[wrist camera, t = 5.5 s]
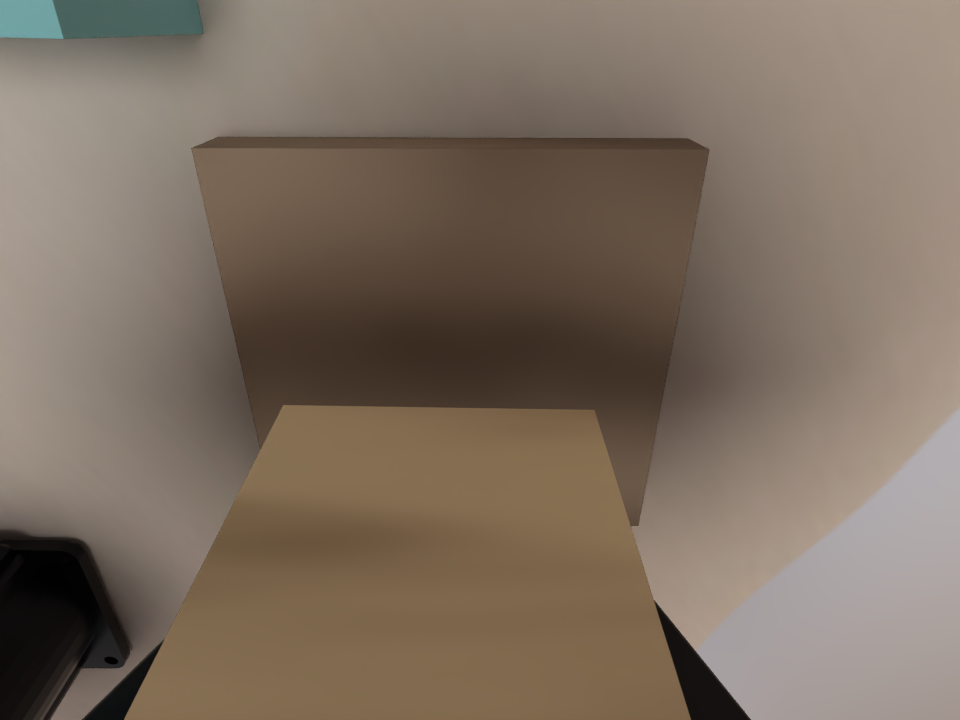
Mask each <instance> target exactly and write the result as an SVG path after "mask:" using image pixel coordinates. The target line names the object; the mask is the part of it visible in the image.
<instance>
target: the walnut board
mask: <svg viewBox="0 0 960 720" xmlns="http://www.w3.org/2000/svg"><path fill="white" fill-rule="evenodd" d="M191 149H192V153H193V157H194V162H195V166H196V170H197V175H198V179H199V184H200V188H201V192H202V197H203V201H204V205H205V210H206V214H207V218H208V223H209V227H210V232H211V236H212V240H213V245H214V249H215V253H216V258H217V262H218V266H219V271H220V275H221V280H222V284H223V288H224V293H225V297H226V301H227V306H228V310H229V314H230V319H231V323H232V328H233V332H234V336H235V341H236V345H237V349H238V354H239V358H240V362H241V367H242V371H243V376H244V380H245V384H246V389H247V393H248V397H249V402H250V406H251V410H252V415H253V419H254V424H255V428H256V432H257V437H258V441H259V445H260V450H261V448H262V446H263V444H264V442H265V440H266V438H267V436H268V434H269V432H270V430H271V428H272V426H273V424H274V422H275V420H276V419H277V417H278V415H279V413H280V411H281V409H282V407H283V405H310V406H374V407H439V408H503V409H567V410H595V413H596V417H597V420H598V423H599V426H600V429H601V433H602V436H603V439H604V442H605V445H606V449H607V452H608V455H609V458H610V461H611V465H612V468H613V471H614V474H615V477H616V481H617V484H618V487H619V490H620V494H621V497H622V500H623V503H624V506H625V510H626V513H627V516H628V519H629V522H630V526H638V524H639V519H640V514H641V509H642V503H643V498H644V493H645V487H646V482H647V477H648V472H649V466H650V461H651V456H652V450H653V445H654V440H655V435H656V429H657V424H658V419H659V413H660V408H661V403H662V398H663V392H664V387H665V382H666V376H667V371H668V366H669V361H670V355H671V350H672V345H673V339H674V334H675V329H676V324H677V318H678V313H679V308H680V302H681V297H682V292H683V287H684V281H685V276H686V271H687V265H688V260H689V255H690V250H691V244H692V239H693V234H694V228H695V223H696V218H697V213H698V207H699V202H700V197H701V191H702V186H703V181H704V176H705V170H706V165H707V160H708V154H709V149H707V148H705V147H703V146H701V145H699V144H697V143H696V142H694V141H692V140H690V139H682V138H392V137H217V138H214V139H212V140H210V141H207V142H205V143H203V144H200V145H198V146H195V147H193V148H191Z"/></svg>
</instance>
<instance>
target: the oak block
mask: <svg viewBox="0 0 960 720" xmlns="http://www.w3.org/2000/svg"><path fill="white" fill-rule="evenodd" d="M124 720H691V718H690V715H689V712H688V709H687V705H686V702H685V699H684V696H683V692H682V689H681V686H680V683H679V680H678V676H677V673H676V670H675V667H674V664H673V660H672V657H671V654H670V651H669V648H668V644H667V641H666V638H665V635H664V632H663V628H662V625H661V622H660V619H659V615H658V612H657V609H656V606H655V603H654V599H653V596H652V593H651V590H650V587H649V583H648V580H647V577H646V574H645V571H644V567H643V564H642V561H641V558H640V554H639V551H638V548H637V545H636V542H635V538H634V535H633V532H632V529H631V526H630V522H629V519H628V516H627V513H626V510H625V506H624V503H623V500H622V497H621V494H620V490H619V487H618V484H617V481H616V477H615V474H614V471H613V468H612V465H611V461H610V458H609V455H608V452H607V449H606V445H605V442H604V439H603V436H602V433H601V429H600V426H599V423H598V420H597V417H596V413H595V410H567V409H503V408H439V407H374V406H310V405H283V407H282V409H281V411H280V413H279V415H278V417H277V419H276V420H275V422H274V424H273V426H272V428H271V430H270V432H269V434H268V436H267V438H266V440H265V442H264V444H263V446H262V448H261V450H260V452H259V454H258V456H257V458H256V460H255V462H254V464H253V466H252V468H251V470H250V472H249V474H248V476H247V478H246V480H245V482H244V484H243V486H242V488H241V490H240V492H239V494H238V496H237V497H236V499H235V501H234V503H233V505H232V507H231V509H230V511H229V513H228V515H227V517H226V519H225V521H224V523H223V525H222V527H221V529H220V531H219V533H218V535H217V537H216V539H215V541H214V543H213V545H212V547H211V549H210V551H209V553H208V555H207V557H206V559H205V561H204V563H203V565H202V567H201V569H200V571H199V572H198V574H197V576H196V578H195V580H194V582H193V584H192V586H191V588H190V590H189V592H188V594H187V596H186V598H185V600H184V602H183V604H182V606H181V608H180V610H179V612H178V614H177V616H176V618H175V620H174V622H173V624H172V626H171V628H170V630H169V632H168V634H167V636H166V638H165V640H164V642H163V644H162V646H161V647H160V649H159V651H158V653H157V655H156V657H155V659H154V661H153V663H152V665H151V667H150V669H149V671H148V673H147V675H146V677H145V679H144V681H143V683H142V685H141V687H140V689H139V691H138V693H137V695H136V697H135V699H134V701H133V703H132V705H131V707H130V709H129V711H128V713H127V715H126V717H125V719H124Z"/></svg>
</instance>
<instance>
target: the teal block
mask: <svg viewBox="0 0 960 720" xmlns="http://www.w3.org/2000/svg"><path fill="white" fill-rule="evenodd" d="M185 34H203V29H202V23H201V18H200V12H199V7H198V2H197V0H0V37H13V38H51V39H73V38H101V37H129V36H157V35H185Z"/></svg>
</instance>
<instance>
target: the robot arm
mask: <svg viewBox="0 0 960 720" xmlns="http://www.w3.org/2000/svg"><path fill="white" fill-rule="evenodd" d="M654 603H655V606H656V609H657V612H658V615H659V619H660V622H661V625H662V628H663V632H664V635H665V638H666V641H667V644H668V648H669V651H670V654H671V657H672V660H673V664H674V667H675V670H676V673H677V676H678V680H679V683H680V686H681V689H682V692H683V696H684V699H685V702H686V705H687V709H688V712H689V715H690V718H691V720H751V719H750V718H749V717H748V716H747V714H746V713H745V712H744V710H743V709H742V708H741V707H740V706H739V704H738V703H737V702H736V700H734V698H733V697H732V696H731V694H730V693H729V692H728V691H727V689H726V688H725V687H724V686H723V684H722V683H721V682H720V681H719V680H718V678H717V677H716V676H715V675H714V673H713V672H712V671H711V670H710V668H709V667H708V666H707V665H706V663H705V662H704V661H703V660H702V659H701V657H700V656H699V655H698V654H697V652H696V651H695V650H694V649H693V647H692V646H691V645H690V644H689V642H688V641H687V640H686V639H685V637H684V636H683V635H682V634H681V633H680V631H679V630H678V629H677V628H676V626H675V625H674V624H673V623H672V621H671V620H670V619H669V618H668V616H667V615H666V614H665V613H664V612H663V610H662V609H661V608H660V607H659V605H658V604H657V603H656V602H655V600H654ZM164 640H165V639H164ZM164 640H163V641H162V642H161V643H160V644H159V645H158V646H157V647H156V648H155V649H154V650H152V651H151V652H150V653H149V654H148V655H147V656H146V657H145V658H144V659H143V660H142V661H141V662H140V663H139V664H138V665H137V666H136V667H135V668H134V669H133V670H132V671H131V672H130V673H129V674H128V675H127V676H126V677H125V678H124V679H123V680H122V681H121V682H120V683H119V684H118V685H117V686H116V687H115V688H114V689H113V690H112V691H111V692H110V693H109V694H108V695H107V696H106V697H105V698H104V699H103V700H102V701H101V702H99V703H98V704H97V705H96V706H95V707H94V708H93V709H92V710H91V711H90V712H89V713H88V714H87V715H86V716H85V717H84V718H83V719H82V720H124V719H125V717H126V715H127V713H128V711H129V709H130V707H131V705H132V703H133V701H134V699H135V697H136V695H137V693H138V691H139V689H140V687H141V685H142V683H143V681H144V679H145V677H146V675H147V673H148V671H149V669H150V667H151V665H152V663H153V661H154V659H155V657H156V655H157V653H158V651H159V649H160V647H161V646H162V644H163V642H164ZM129 655H130V651H129V648H128V646H127V644H126V642H125V639H124V637H123V635H122V633H121V630H120V628H119V626H118V624H117V621H116V619H115V617H114V615H113V612H112V610H111V608H110V606H109V603H108V601H107V599H106V597H105V594H104V592H103V590H102V588H101V585H100V583H99V581H98V579H97V576H96V574H95V572H94V570H93V567H92V565H91V563H90V561H89V558H88V556H87V554H86V552H85V550H84V549H83V548H82V547H81V546H79V545H77V544H75V543H72V542H63V541H0V720H50V719H51V717H52V716H53V714H54V712H55V711H56V709H57V707H58V706H59V704H60V703H61V701H62V699H63V698H64V696H65V694H66V693H67V691H68V690H69V688H70V686H71V685H72V683H73V681H74V680H75V678H76V677H77V675H78V673H79V672H80V670H81V668H120V667H122V666H123V665H124V664H125V662H126V660H127V659H128V657H129Z"/></svg>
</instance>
